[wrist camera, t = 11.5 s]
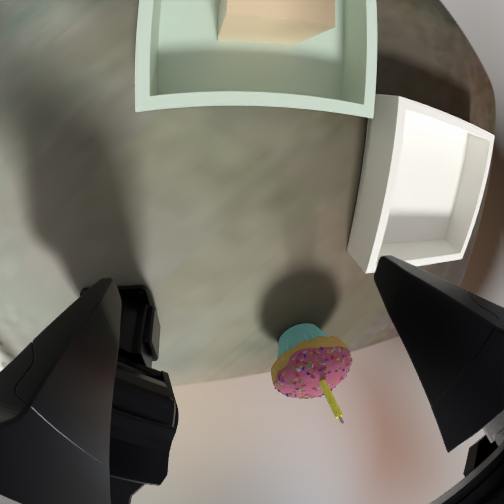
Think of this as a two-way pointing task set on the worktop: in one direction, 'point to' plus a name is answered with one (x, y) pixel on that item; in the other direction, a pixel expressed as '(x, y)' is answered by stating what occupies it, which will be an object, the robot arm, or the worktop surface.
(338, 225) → the worktop surface
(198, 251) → the worktop surface
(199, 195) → the worktop surface
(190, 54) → the bin
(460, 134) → the bin
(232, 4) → the beige plain cubic block
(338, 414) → the cupcake
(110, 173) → the worktop surface
